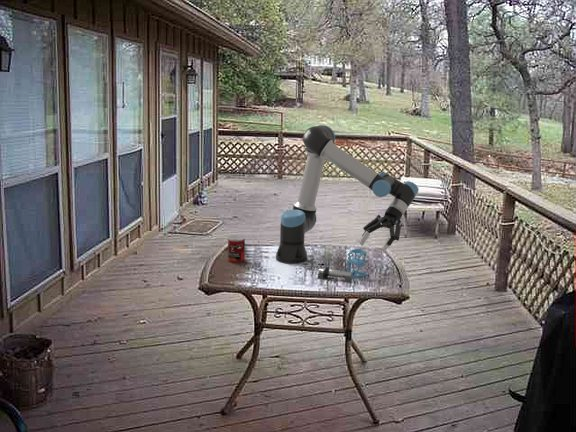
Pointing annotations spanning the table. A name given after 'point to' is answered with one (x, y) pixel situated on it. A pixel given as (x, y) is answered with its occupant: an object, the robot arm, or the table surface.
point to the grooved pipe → (334, 274)
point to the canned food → (236, 249)
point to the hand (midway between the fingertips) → (371, 247)
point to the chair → (357, 263)
